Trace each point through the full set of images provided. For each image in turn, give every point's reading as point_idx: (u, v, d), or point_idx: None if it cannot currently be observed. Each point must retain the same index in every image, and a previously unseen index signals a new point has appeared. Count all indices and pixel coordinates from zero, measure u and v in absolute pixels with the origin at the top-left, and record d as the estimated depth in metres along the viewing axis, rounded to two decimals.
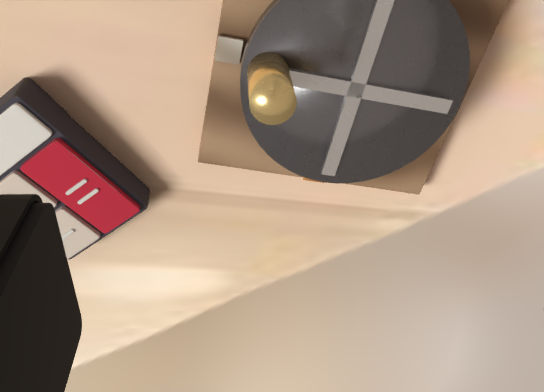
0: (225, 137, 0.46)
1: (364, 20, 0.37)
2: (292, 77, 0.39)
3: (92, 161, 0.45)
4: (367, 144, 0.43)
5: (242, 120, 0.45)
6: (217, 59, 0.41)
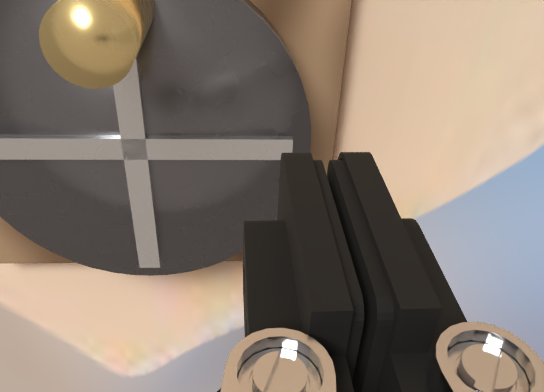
0: None
1: (237, 129, 0.26)
2: None
3: None
4: (52, 188, 0.27)
5: None
6: None
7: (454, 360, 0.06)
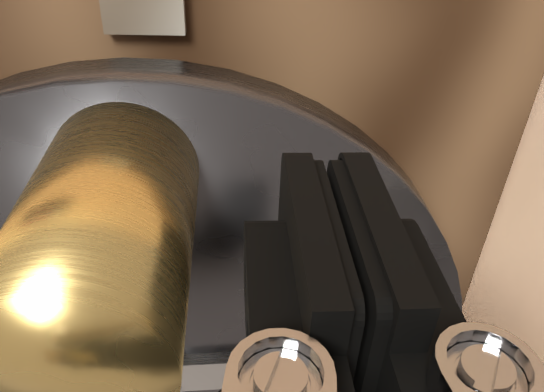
0: None
1: None
2: None
3: None
4: None
5: None
6: None
7: (453, 360, 0.06)
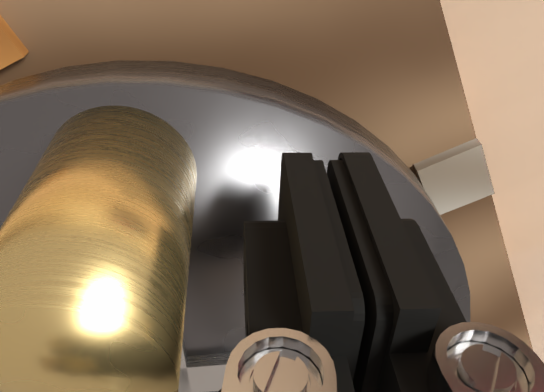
0: None
1: None
2: None
3: None
4: None
5: (315, 35, 0.13)
6: (475, 150, 0.15)
7: (454, 360, 0.06)
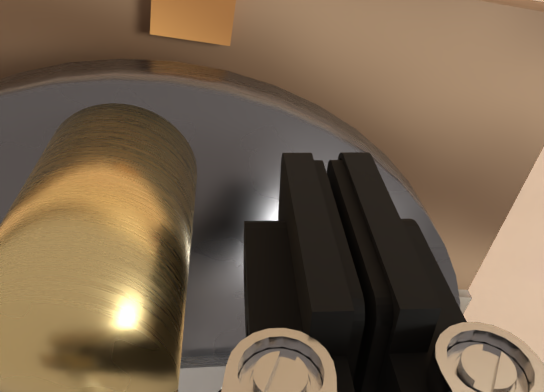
0: (494, 112, 0.15)
1: None
2: None
3: None
4: None
5: (434, 165, 0.16)
6: (465, 299, 0.19)
7: (453, 360, 0.06)
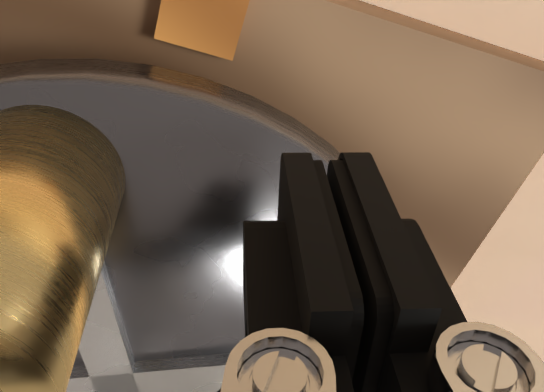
0: (475, 156, 0.16)
1: None
2: None
3: None
4: None
5: (412, 199, 0.17)
6: None
7: (454, 360, 0.06)
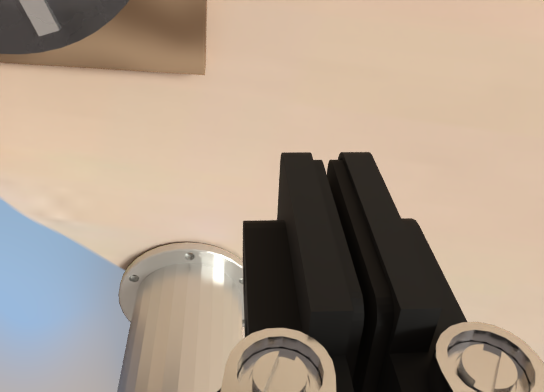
0: None
1: None
2: None
3: None
4: None
5: None
6: None
7: (454, 360, 0.06)
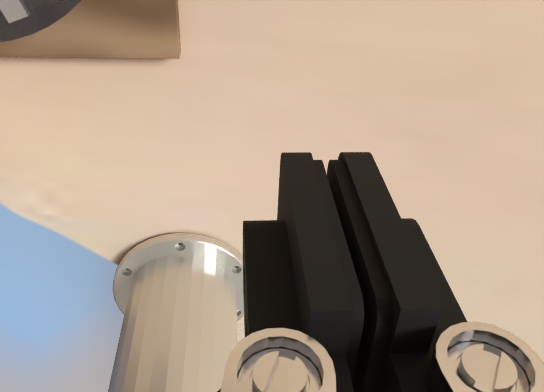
0: None
1: None
2: None
3: None
4: None
5: None
6: None
7: (454, 360, 0.06)
